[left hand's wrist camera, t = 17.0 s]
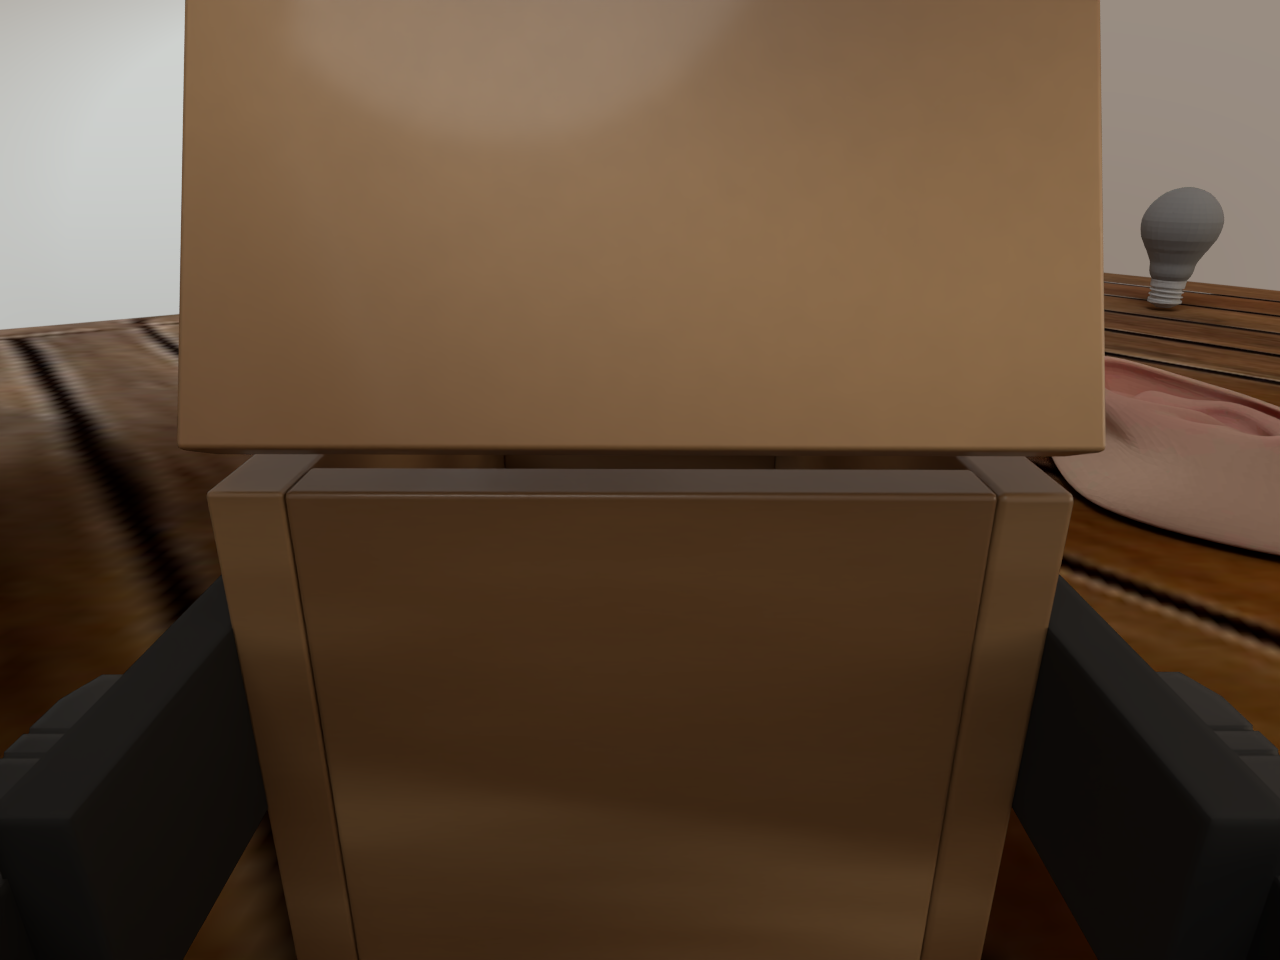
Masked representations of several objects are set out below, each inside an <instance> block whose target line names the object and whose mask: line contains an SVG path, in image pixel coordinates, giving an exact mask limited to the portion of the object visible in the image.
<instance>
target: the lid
mask: <svg viewBox="0 0 1280 960" xmlns="http://www.w3.org/2000/svg"><path fill="white" fill-rule="evenodd" d="M1100 50H1101V49H1100V0H185V44H184V99H183V152H182V205H181V258H180V313H179V366H178V419H177V444H178V447H179V448H180V449H183V450H188V451H196V452H205V453H213V454H352V455H700V456H1047V457H1065V456H1074V455H1082V454H1091V453H1099V452H1101V451H1104V449H1105V446H1106V430H1105V353H1104V277H1103V202H1102V125H1101V51H1100Z"/></svg>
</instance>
